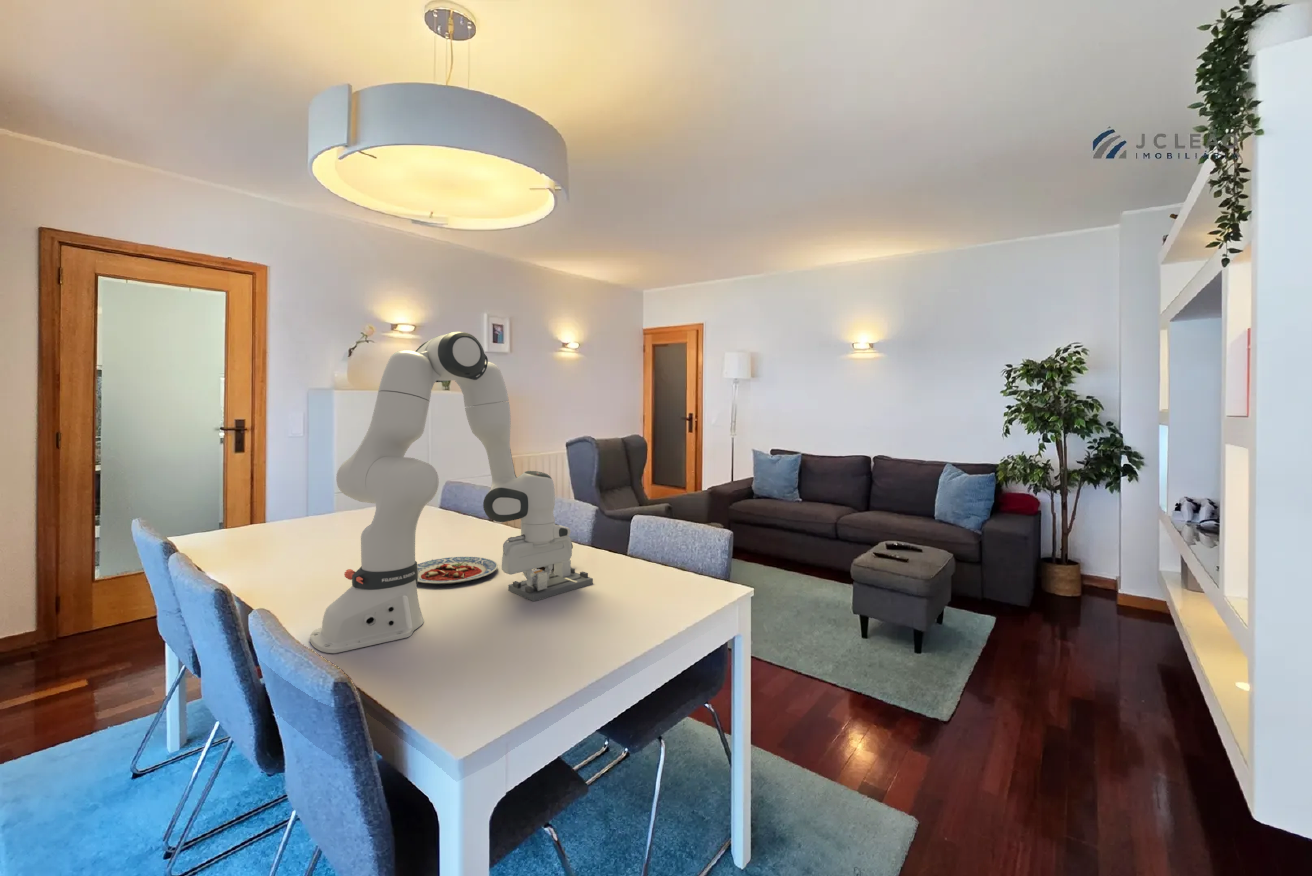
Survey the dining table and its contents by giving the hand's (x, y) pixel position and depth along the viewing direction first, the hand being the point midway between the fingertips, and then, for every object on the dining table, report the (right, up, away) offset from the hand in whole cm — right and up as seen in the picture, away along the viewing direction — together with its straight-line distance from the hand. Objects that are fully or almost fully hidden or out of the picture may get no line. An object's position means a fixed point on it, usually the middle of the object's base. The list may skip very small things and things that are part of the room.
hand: (538, 583), depth 146 cm
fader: (0, -1, 0) cm, 1 cm away
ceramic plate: (-29, -3, +17) cm, 34 cm away
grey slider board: (+2, -3, +7) cm, 8 cm away
